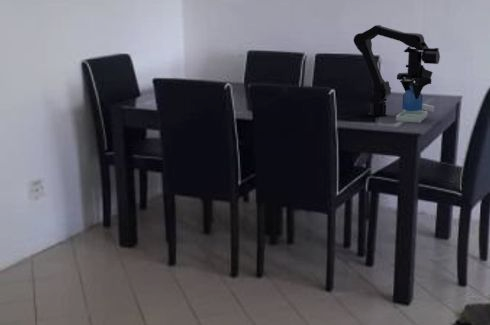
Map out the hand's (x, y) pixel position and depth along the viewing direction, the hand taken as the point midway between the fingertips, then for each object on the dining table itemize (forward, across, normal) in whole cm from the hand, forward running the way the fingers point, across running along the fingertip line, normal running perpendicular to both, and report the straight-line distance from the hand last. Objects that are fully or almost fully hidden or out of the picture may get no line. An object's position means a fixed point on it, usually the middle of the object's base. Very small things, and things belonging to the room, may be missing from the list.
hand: (412, 97), depth 292 cm
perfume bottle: (+6, 0, 0) cm, 6 cm away
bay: (+10, +13, -13) cm, 21 cm away
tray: (+10, 0, 0) cm, 10 cm away
